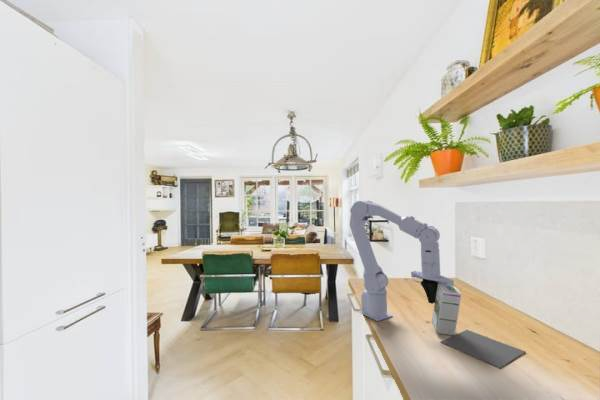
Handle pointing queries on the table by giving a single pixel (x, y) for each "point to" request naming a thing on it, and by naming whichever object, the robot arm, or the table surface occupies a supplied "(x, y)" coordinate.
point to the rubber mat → (483, 348)
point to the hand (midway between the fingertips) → (432, 302)
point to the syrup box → (446, 309)
